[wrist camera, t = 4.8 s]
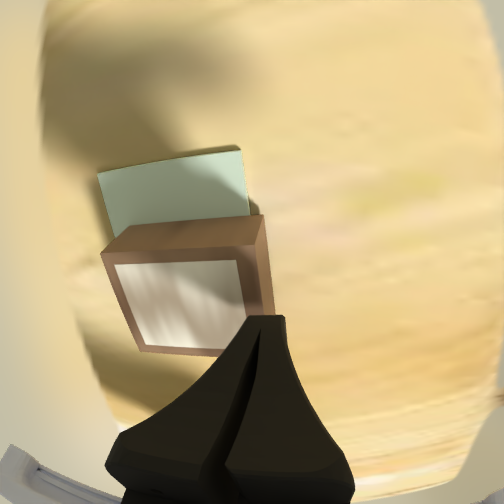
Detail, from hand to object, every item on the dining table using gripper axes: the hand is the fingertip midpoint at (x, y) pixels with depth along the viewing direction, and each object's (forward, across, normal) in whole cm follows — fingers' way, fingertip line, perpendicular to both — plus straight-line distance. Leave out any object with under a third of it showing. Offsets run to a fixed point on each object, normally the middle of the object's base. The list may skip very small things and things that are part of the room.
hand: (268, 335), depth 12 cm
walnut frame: (+3, 0, 0) cm, 3 cm away
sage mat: (+5, +5, 0) cm, 7 cm away
